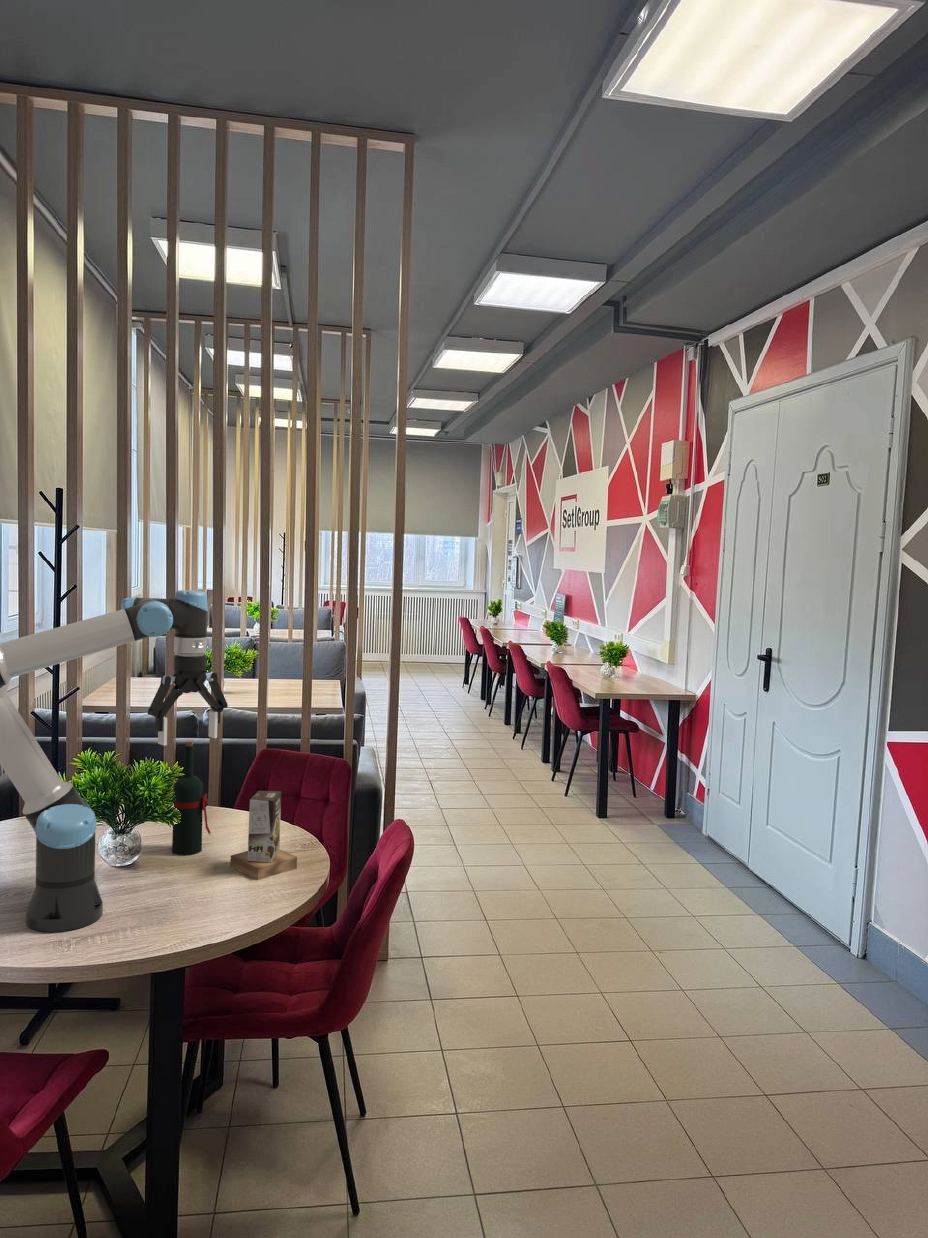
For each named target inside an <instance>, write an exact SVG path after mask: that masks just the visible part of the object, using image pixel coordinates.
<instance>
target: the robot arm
mask: <svg viewBox="0 0 928 1238" xmlns="http://www.w3.org/2000/svg"><path fill="white" fill-rule="evenodd" d="M208 605H209V604H208V595H207V593H206V592H204V591H203V590H189V589H188V590H187V589H185V590H183V589H182V590H181V589H180V590H177V591H176V592H175V594H174V597H172V598H159V597H157V598H156V597H155V598H153V597H139V596H138V597H137V596H136V597H126V598H123V599H122V600H121V607H120V610H119V609H118V610H115V611H112V612H107V613H104V614H102V615H101V614H100V615H97V616H93V617H90V618H87V619H83V620H79V621H75V622H73V623H69V624H65V625H64V624H63V625H61V626H58V627H54V628H51V629H47V630H43V631H39V632H36V633H33V634H28V635H25V636H22V637H18V638H15V639H11V640H7V641H3V642H0V766H1V767H2V769H3V770H4V772H5V774H6V775H7V777H8V778H9V779H10V781H11V783H12V784H13V786H14V787H15V789H16V790H17V792H18V794H19V796H20V797H21V798H22V799H23V802H24V805H23V809H22V814H23V815H24V817H25V819H26V820H27V823H29V825H30V826H31V828H32V830H33V831H34V832H35V833H34V834H35V836H36V837H35V887H34V889H33V892H32V894H31V897H30V900H29V903H28V906H27V909H26V911H25V924H26V923H27V924H26V926H27V925H28V926H29V927H28V926H27V927H28V928H30V929H32V930H35V931H39V932H49V933H55V932H56V933H57V932H67V931H73V930H77V929H81V928H84V927H87V926H88V925H92V924H93V923H95V922H96V921H98V920H99V919H101V917H102V915H104V914H103V913H104V912H103V911H104V904H103V900H102V896H101V893H100V891H99V888H98V886H97V883H96V880H95V879H96V878H95V877H96V876H95V874H96V873H95V872H96V869H95V867H96V865H95V864H96V830H97V827H98V826H97V825H98V824H97V819H96V814H95V812H94V810H93V809H91V807H90V805H89V803H88V802H87V801H86V800H85V799H84V798H82V797H81V795H80V794H79V793H78V791H77V789H76V788H75V786H74V784H73V783H72V782H69V781H65V780H62V779H61V778H60V776H59V775H58V773H57V771H56V769H55V768H54V767H53V764H52V763H51V761H50V759H48V756H47V755H46V754H45V752H44V751H43V749H42V747H41V745H40V744H39V742H38V740H37V739H36V738H35V736H34V735H33V733H32V731H31V729H30V727H29V726H28V725H27V724H26V722H25V720H24V719H23V717H22V715H21V714H20V712H19V710H18V709H17V708H16V706H15V703H14V702H13V701H12V699H11V698H10V696H9V694H8V693H7V690H8V687H9V685H10V681H12V679H13V678H14V677H15V678H16V677H19V676H22V675H26V674H28V673H32V672H35V671H39V670H42V669H45V668H49V667H53V666H55V665H59V664H62V663H65V662H69V661H72V660H76V659H79V658H82V657H86V656H89V655H92V654H96V653H99V652H103V651H106V650H109V649H112V648H116V647H118V646H119V647H120V646H123V645H126V644H129V643H133V642H136V641H141V640H145V639H146V638H147V639H148V638H156V637H157V638H158V637H161V636H163V635H166V634H167V633H168V632H169V631H172V630H173V631H174V633H173V634H174V638H173V640H174V641H173V652H174V656H173V673H174V674H173V676H169V675H164V674H162V675H161V676H160V677H161V678H160V683H159V684H160V685H159V687H158V688H157V690H156V693H155V695H154V697H153V699H152V701H151V703H150V705H149V707H148V710H147V711H146V713H147V715H149V716H152V717H154V718H155V720H154V721H155V725H154V728H155V729H154V730H155V731H156V732H157V744H158V745H161V746H167V745H168V717H165V716H166V715H167V713H169V711H170V710H171V708H172V707H173V706H174V704H175V703H176V702H177V700H178V698H179V697H181V696H182V695H183V694H190V693H199V695H201V697H202V698H203V699H204V701H205V702H206V703H207V705H208V706H209V707H210V709H212V710H209V711H208V737H209V738H212V739H217V738H218V725H220V723H221V713H222V712H223V711H224V709H227V708H228V707H229V705H228V702H227V700H226V698H225V696H224V693H223V690H222V689H221V685H220V684H219V681H218V674H217V673H216V672H214V671H207V673H206V669H207V656H206V655H205V654H206V653H207V645H208V644H207V643H208V642H207V641H208V639H207V637H208V616H209V615H208V612H209V609H208ZM206 681H207V682H208V684H209V685H208V686H209V687H210V690H211V693H212V694H213V695H212V694H211V693H210V692H209V689H208V687H207V686H206V685H205V682H206ZM173 683H174V685H173ZM171 685H173V686H172V688H171ZM170 688H171V689H170ZM169 690H170V692H169ZM168 692H169V694H168ZM167 694H168V695H167Z"/></svg>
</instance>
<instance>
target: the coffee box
mask: <svg viewBox="0 0 928 1238" xmlns="http://www.w3.org/2000/svg"><path fill="white" fill-rule="evenodd" d="M281 807H282V791H278V790H258V791H257V792H255V794H254V795H253V796H251V798H250V799H249V813H248V839H247V851H248V861H254V862H269V863H270V862H272V860H273V859H274V858H275V856H276V855H277V853H278V852H279V849H280V845H281V844H280V843H281V840H280V839H281V813H282V812H281V811H282V808H281Z"/></svg>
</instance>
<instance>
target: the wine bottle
mask: <svg viewBox="0 0 928 1238" xmlns="http://www.w3.org/2000/svg"><path fill="white" fill-rule="evenodd" d="M184 747H185V748H184V775H182V776H181V777H179V778H177V780H176V781H175V782H176V783H174V785H173V793H174V792H175V795H176V802H175V803H174V802H173V803H174V807H175V808H177V809H178V810H179V811H180V813H181V819H180V821H181V822H180V823H178V824H175V825H173V824H172V837H171V838H172V841H171V844H172V845H171V854H173V855H175V856H183V857H185V856H194V855H198V854H199V853H201V852H202V851H203V817H204V824H205V829H206V831H207V834H208V835H209V836H211V835H212V833H211V830H210V828H209V826H208V817H207V806H208V804H209V799H208V793H204V784H203V782H202V780H201V779H200V778H199V777H198V776H196V775H194V755H195V754H194V753H195V752H194V751H195V749H194V748H195V747H194V740H186V741H185V746H184ZM203 813H204V815H203Z"/></svg>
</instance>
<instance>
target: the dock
mask: <svg viewBox="0 0 928 1238" xmlns="http://www.w3.org/2000/svg"><path fill="white" fill-rule="evenodd" d="M230 868H232V869H234V870H236V871H239V872H241V873H243V874H245V875H247V876H249V877H250V878H252V879H255V880H257V881H258V880H262V879H266V878H269V877H272V876H275V875H279V874H281V873H285V872H288V871H293V870H294V869H297V868H298V856H296V855H293V854H291V853H289V852H287V851H284V850H281V849H280V848H279V852H278V853H277V855H276V856H275V858H274V859H273V860H272V862H270V863H269V862H254V861H248V850H245V851H243V852H238V853H236V854H231V855H230Z"/></svg>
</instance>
